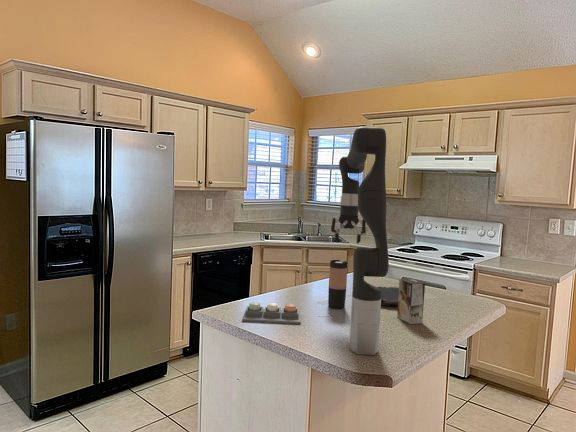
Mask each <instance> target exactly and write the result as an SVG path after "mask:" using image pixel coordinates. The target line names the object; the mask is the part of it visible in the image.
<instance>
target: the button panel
mask: <svg viewBox="0 0 576 432" xmlns="http://www.w3.org/2000/svg"><path fill="white" fill-rule="evenodd" d="M301 318H302V316H301V311H300V310H299V308H296V313H288V312H285V307H282V308H281V307H278V312H268V311H267V306H260V311H249V305H247V306H246V308H245V310H244V314H243V316H242V318H241V320H242V321H247V322H249V323H261V322H268V324H282V323H286V324H285V325H301V324H302V320H301ZM247 322H246V323H247ZM269 322H270V323H269Z"/></svg>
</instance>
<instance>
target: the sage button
mask: <svg viewBox="0 0 576 432" xmlns="http://www.w3.org/2000/svg"><path fill="white" fill-rule="evenodd" d="M248 306H249V311H260V307H261V303H260V302H256V301H254V302H253V301H252V302H249V303H248Z"/></svg>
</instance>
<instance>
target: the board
mask: <svg viewBox="0 0 576 432" xmlns="http://www.w3.org/2000/svg"><path fill="white" fill-rule="evenodd" d="M377 287H378V288H379V289H380V290H381V292H382V296H381V306H384V307H385V306H386V307H388V306H390V307H391V306H392V307H396V306H398V295H399V286H398V287H396V286H389V287H387V286H377Z"/></svg>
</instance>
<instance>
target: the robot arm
mask: <svg viewBox="0 0 576 432" xmlns="http://www.w3.org/2000/svg"><path fill="white" fill-rule="evenodd" d="M351 139H352V140H351V143H350V150H349V152H348V154H347V155H344V156H342V157H341V158H340V159H339V161H338V167H339V171H340V175H341V184H342V186H341V197H340V208H339V209H340V211H339V217H334V216H333V217H332V220H331V224H330V225H331V227H330V231H331V232H332V233H334V241H335V242H336V243H339V237H340V236H339V235H340V234H339V233H340V232H341V231H342V229H346V230H347V229H349V230H350V229H351V230H353V229H354V230H355V232H356V244H358V245H359V243H360V242H361V237H362V235H363V234H366V232H367V231H366V227H367V226H368V229H369V230H370V232H371V234H372V237H373V238H374V243H375V247H365V246H364V247H363V246H360V247H359V246H358V247H356V248H355V250H354V252H353V258H352V267H353V268H352V270H353V271H352V276H353V277H352V295H351V310H350V311H351V312H350V328H349V343H348V345H349V346H348V349H349V350H350V351H351V352H353V353H355V355H364V356H365V355H367V356H368V355H369V356H376V354H377V353H378V352H379V340H380V339H379V338H380V325H381V308H382V305H381V296H382V292H381V290H380V289H379V288H378V287H379V286H376V285H375V286H374V285H372V284H370V283H368V282H367V281H365V277H368V278H369V277H372V278H384V277H386V276H387V275H388V273H389V272H388V271H389V266H390V265H389V264H390V263H389V260H390V259H389V250H388V249H389V247H388V234H387V189H386V188H387V187H386V185H387V184H386V155H387V153H386V152H387V133H386V130H385V128H383V127H377V126H373V127H372V126H359V127H357V128H356V129H355V130H354V132H353V134H352V138H351ZM368 155H374V162H373V165H372V166H371V168H370V170H369V171H368V173H367V174H366V176H365V177H364V179H363V180H362V181H361V182H360V181H359V180H358V179H355V178H351V177H350V176H349V174H355V175H357V174H358V175H359V174H361V173H363V172H364V170H365V167H366V166H365V163H366V160H367V158H368ZM359 214H360V216H361V217H362V218H360V219H359ZM338 222H339V226H338V227H337V228H336V227H335V226H336V224H337V223H338ZM359 223H360V225H361V230H360V229H359V228H358V226H357V225H358V224H359ZM366 225H367V226H366ZM335 228H336V229H335Z"/></svg>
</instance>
